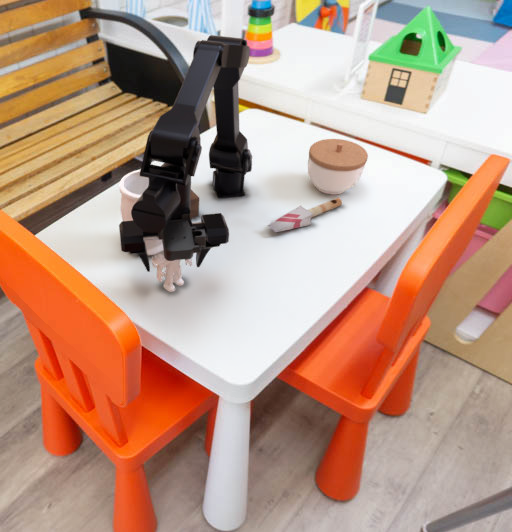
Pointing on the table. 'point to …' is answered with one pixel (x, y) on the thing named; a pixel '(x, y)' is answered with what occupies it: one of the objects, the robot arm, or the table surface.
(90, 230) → the table surface
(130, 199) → the jar
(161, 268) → the pink action figure
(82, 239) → the table surface
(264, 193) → the table surface
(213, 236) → the robot arm
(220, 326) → the table surface
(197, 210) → the toy block
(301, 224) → the garden trowel
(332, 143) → the lidded bowl
